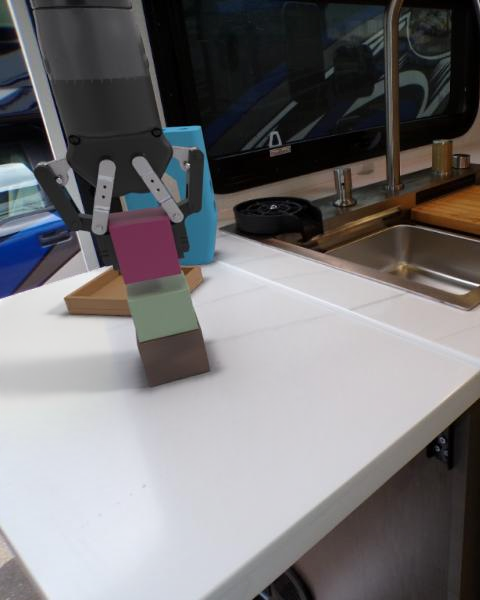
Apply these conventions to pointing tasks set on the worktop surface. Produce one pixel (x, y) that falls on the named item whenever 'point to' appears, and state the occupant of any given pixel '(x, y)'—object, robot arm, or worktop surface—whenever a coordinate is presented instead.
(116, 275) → the tray
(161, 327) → the sage block
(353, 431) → the worktop surface
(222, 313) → the worktop surface
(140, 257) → the mulberry block
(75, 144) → the robot arm
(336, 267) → the worktop surface
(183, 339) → the walnut block
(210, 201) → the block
